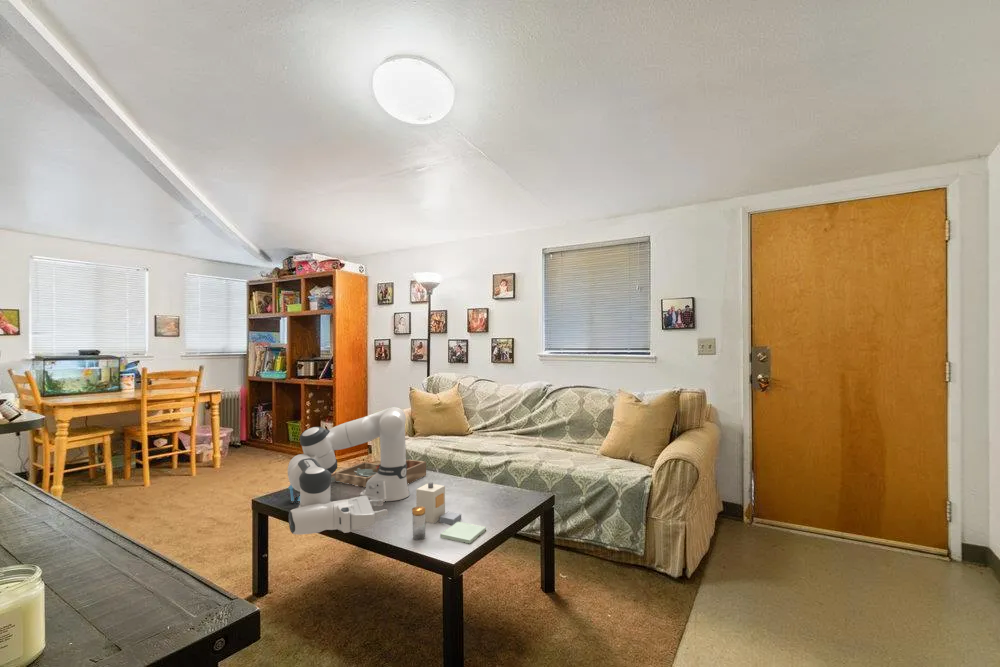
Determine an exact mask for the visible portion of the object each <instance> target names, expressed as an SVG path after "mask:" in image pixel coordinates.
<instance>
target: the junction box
mask: <svg viewBox="0 0 1000 667" xmlns="http://www.w3.org/2000/svg"><path fill="white" fill-rule="evenodd" d="M415 491H416V492H415V494H416V495H415V497H416V501H415V502H416V503H415V504H416V505H415V507H418V506H422V507H425V523H429V524H435V523H437V522H439V521H440V516H442V515H443V514H445V513H446V485H443V484H436V483H434V482H428V483H426V484H424V485H422V486H420V487H418V488H416V489H415Z"/></svg>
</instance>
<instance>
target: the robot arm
mask: <svg viewBox="0 0 1000 667" xmlns="http://www.w3.org/2000/svg"><path fill="white" fill-rule="evenodd" d="M406 420H407V418H406V413H405V412H404V410H403V409H402V408H399V407H397V406H392V407H387V408H385V409H383V410H379V411H376V412H374V413H371V414H369V415H366V416H363V417H359V418H357V419H353V420H350V421H346V422H344V423H341V424H337V425H335V426H333V427H331V428H329V429H328V428H324V427H322V426H313V427H310V428H307V429H305V430H304V431H303V432H302V433H301V434H300V435H299V444H300V446H301V448H302V452H303V453H301V454H300V453H299V454H297V455H296V454H295V456H293V457H292V458H291V459H290V460H289V461H288V462H289V463H288V466H287V476H288V481H289V484H291V486H292V487H293V488H294V489H293V490H295V491H297V492H299V495H300V503H299V504H298V507H296V508H293V509H291V510H289V512H288V525H289V526H288V527H289V531H290V533H291V534H293V535H309V534H310V535H311V534H317V533H321V532H323V531H327V530H328V531H333V530H334V531H335V530H338V531H340V532H343V533H344V534H345V533H350V532H351V531H354V530H355V531H356V530H357V531H358V530H361V529H367V528H370V527H372V526H374V525H375V524H376V520H378V519H380V518H382V517H385V516H388V514H389V513H388V509H387V508H381V510H375V511H374V509H373V507H383V506H384V503H385V501H386V502H393V501H399V500H403V499H406V498H408V497H409V496H410V494H411V493H410V490H409V484H407V478H406V473H407V463H406V460H407V459H406V457H407V453H406V448H407V447H406V446H407V445H406ZM376 439H379V444H380V447H379V448H380V465H379V466H376V467H377V468H376V469H378V468H379V469H378V472H377V473H376V474H375V475H374V476H373V477H371V478H370V479H369V480H368V481H367V483H366V488H365V489H364V490H362V491H361V492H360V493H359V496H356V497H355V496H354V497H351V498H346V499H338V500H333V501H331V494H332V493H331V492H332V491H331V485H332V484H331V483H332V474H335V472H336V470H337V469H338V459H337V458H336V455H335V454H336V453H335V451H339V450H345V449H349V448H352V447H355V446H359V445H363V444H366V443H368V442H371V441H374V440H376Z"/></svg>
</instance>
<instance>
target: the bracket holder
mask: <svg viewBox="0 0 1000 667" xmlns="http://www.w3.org/2000/svg"><path fill="white" fill-rule="evenodd" d="M406 463H407V473H406V478H407V485H409V484H411V483H413V482H415V481H417V480H416V479H418V480H420V479H421V477H422V478H424V477H426V476H427V461H423V460H415V459H406ZM423 476H424V477H423ZM419 478H420V479H419ZM414 480H415V481H414ZM412 481H413V482H412ZM410 482H411V483H410ZM408 483H409V484H408Z"/></svg>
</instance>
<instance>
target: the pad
mask: <svg viewBox="0 0 1000 667" xmlns="http://www.w3.org/2000/svg"><path fill="white" fill-rule="evenodd" d="M485 530H486V531H487V527H486V526H483V525H478V524H472V523H468V522H462V521H458V522H457V523H455V524H454V525H450V526H449V527H448V528H446V530H443V531H442V532H441V533H440V535H439V537H440V539H445V538H446V539H447V540H451V541H454V540H455V541H454V542H459V541H460V542H459V543H463V542H465V543H464V544H468V543H469V544H472V541H473V540H474V541H475V540H476V539H478V538H479V537H480V536H481V535H482V534H483V533H484V531H485ZM486 531H485V532H486ZM479 535H480V536H479ZM478 536H479V537H478ZM474 541H473V542H474Z"/></svg>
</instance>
